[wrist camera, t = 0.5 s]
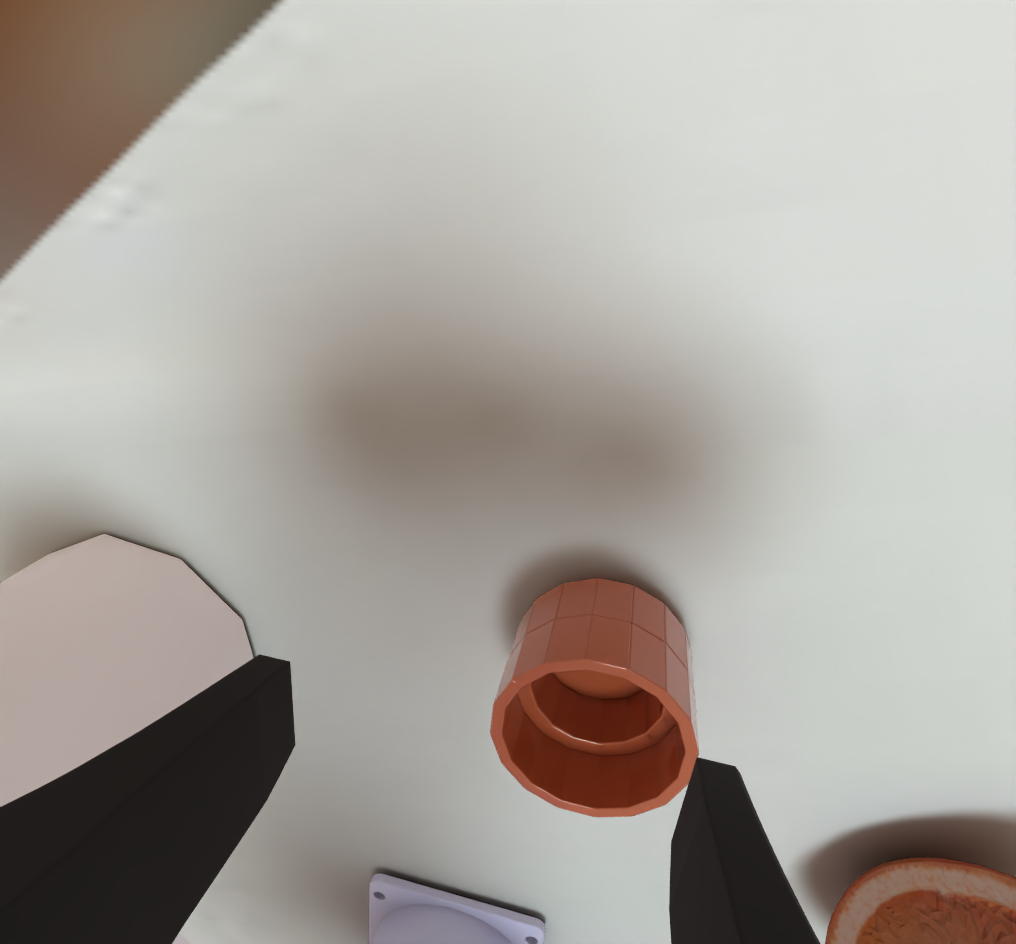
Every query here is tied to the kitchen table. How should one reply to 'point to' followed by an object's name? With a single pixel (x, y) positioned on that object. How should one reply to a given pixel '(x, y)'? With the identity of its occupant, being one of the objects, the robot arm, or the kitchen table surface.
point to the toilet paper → (102, 654)
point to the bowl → (598, 701)
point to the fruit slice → (926, 905)
